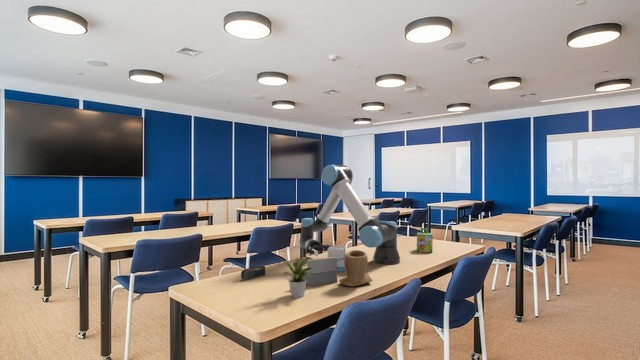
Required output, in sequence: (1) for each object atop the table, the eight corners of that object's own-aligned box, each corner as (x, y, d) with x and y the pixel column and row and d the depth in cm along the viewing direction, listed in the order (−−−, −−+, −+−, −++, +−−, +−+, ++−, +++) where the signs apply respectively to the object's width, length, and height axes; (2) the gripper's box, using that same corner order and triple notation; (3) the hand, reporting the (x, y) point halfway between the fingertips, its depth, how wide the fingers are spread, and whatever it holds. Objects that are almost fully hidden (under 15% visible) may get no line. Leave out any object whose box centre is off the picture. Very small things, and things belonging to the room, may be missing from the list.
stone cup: (351, 290, 145) (351, 255, 145) (335, 283, 155) (335, 250, 155) (379, 285, 153) (379, 251, 153) (362, 278, 163) (362, 246, 163)
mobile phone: (262, 264, 172) (237, 270, 160) (266, 265, 170) (241, 271, 158) (262, 274, 172) (237, 280, 160) (266, 275, 170) (241, 282, 158)
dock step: (322, 273, 172) (322, 251, 172) (337, 282, 157) (337, 257, 157) (296, 276, 166) (295, 253, 166) (308, 286, 152) (308, 260, 152)
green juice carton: (417, 252, 221) (417, 229, 221) (416, 249, 231) (416, 227, 231) (432, 252, 220) (432, 229, 220) (430, 249, 229) (430, 227, 229)
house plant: (283, 304, 129) (283, 261, 129) (273, 293, 142) (273, 253, 142) (318, 299, 135) (318, 257, 135) (305, 289, 148) (305, 250, 148)
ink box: (343, 272, 175) (343, 249, 175) (327, 271, 176) (327, 248, 176) (345, 267, 183) (345, 246, 183) (330, 267, 185) (329, 245, 185)
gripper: (332, 250, 213) (348, 257, 193) (293, 254, 203) (307, 261, 183) (331, 238, 213) (348, 244, 193) (293, 241, 203) (307, 247, 183)
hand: (328, 252), depth 188 cm, fingers open, 13 cm apart
